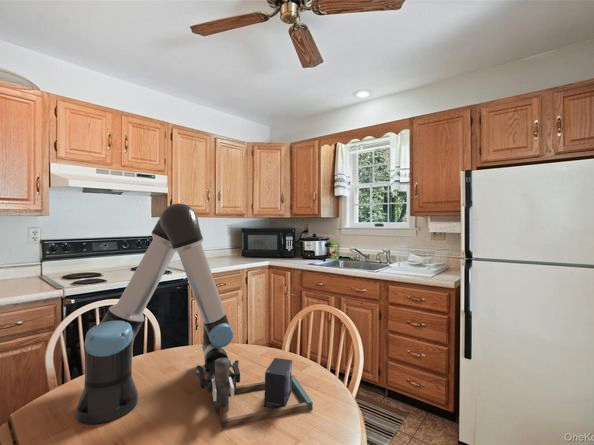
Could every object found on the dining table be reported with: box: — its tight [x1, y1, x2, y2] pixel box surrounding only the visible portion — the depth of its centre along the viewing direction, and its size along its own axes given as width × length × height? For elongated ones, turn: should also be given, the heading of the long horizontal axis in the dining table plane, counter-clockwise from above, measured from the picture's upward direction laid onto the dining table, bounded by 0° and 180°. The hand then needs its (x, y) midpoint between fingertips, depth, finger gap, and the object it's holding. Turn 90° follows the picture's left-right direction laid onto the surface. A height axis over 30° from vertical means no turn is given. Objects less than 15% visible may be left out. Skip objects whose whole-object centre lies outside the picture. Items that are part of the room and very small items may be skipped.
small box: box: [263, 357, 293, 409], centre depth 94 cm, size 11×6×10 cm, turn 168°
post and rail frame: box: [213, 357, 314, 429], centre depth 92 cm, size 27×16×14 cm, turn 110°
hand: (223, 394), depth 83 cm, fingers closed on post and rail frame, 4 cm apart
